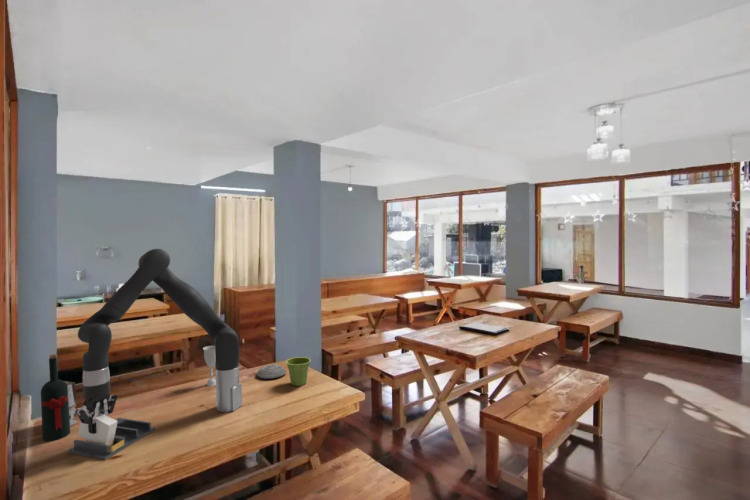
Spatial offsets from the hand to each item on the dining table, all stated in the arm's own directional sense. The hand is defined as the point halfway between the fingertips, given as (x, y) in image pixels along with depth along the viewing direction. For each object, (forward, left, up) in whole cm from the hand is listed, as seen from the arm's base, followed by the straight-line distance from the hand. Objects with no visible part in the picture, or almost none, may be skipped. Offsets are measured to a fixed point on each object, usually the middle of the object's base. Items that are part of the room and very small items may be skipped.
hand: (98, 430), depth 133 cm
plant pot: (-40, -69, -7) cm, 81 cm away
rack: (0, -5, -6) cm, 8 cm away
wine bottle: (+23, -2, -7) cm, 24 cm away
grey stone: (-21, -76, -7) cm, 80 cm away
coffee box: (+31, -9, -7) cm, 33 cm away
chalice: (+1, -58, -7) cm, 59 cm away
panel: (+1, 0, -4) cm, 4 cm away
